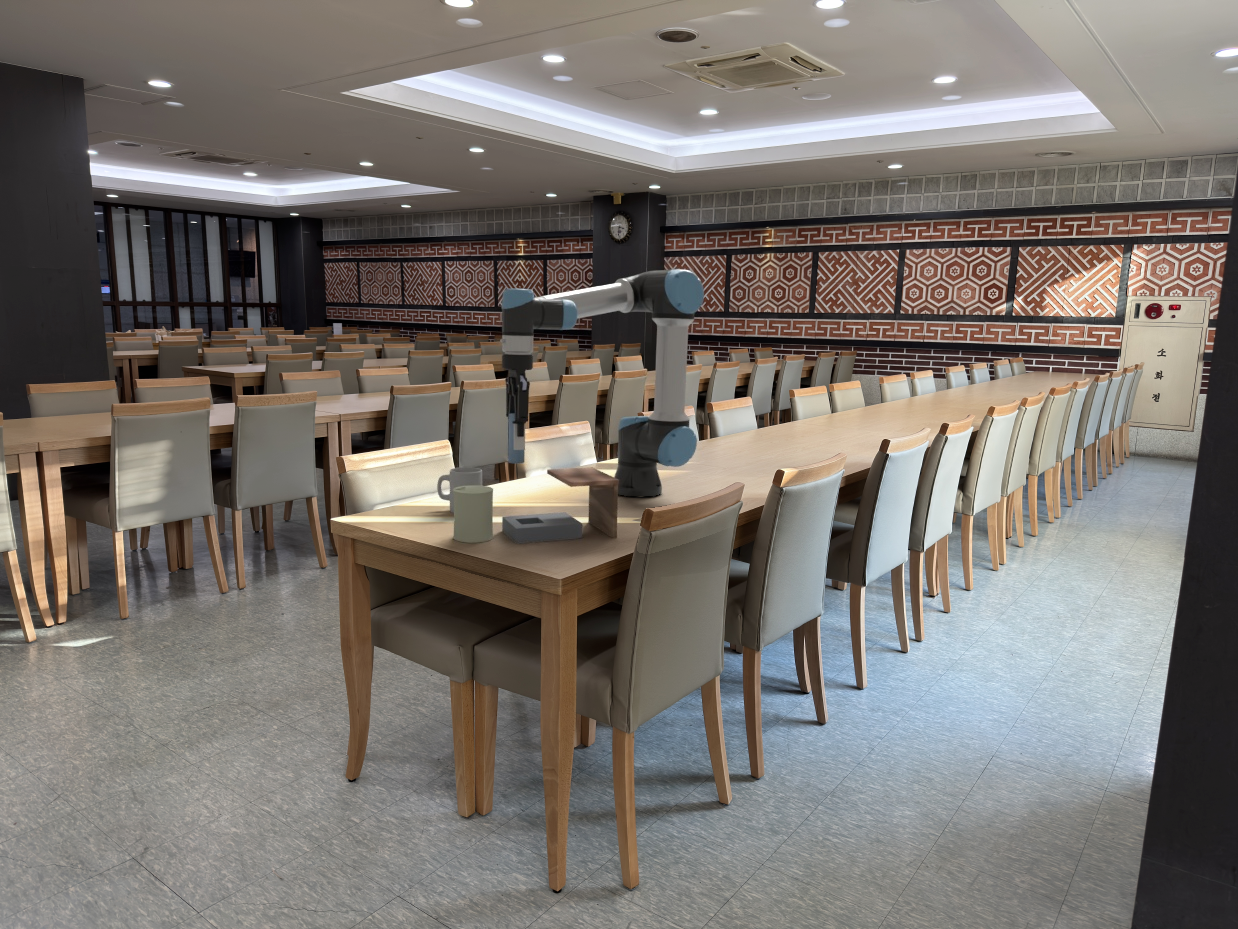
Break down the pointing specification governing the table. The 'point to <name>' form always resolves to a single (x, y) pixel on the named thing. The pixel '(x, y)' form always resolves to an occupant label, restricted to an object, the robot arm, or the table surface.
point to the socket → (541, 527)
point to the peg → (513, 455)
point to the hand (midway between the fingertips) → (516, 447)
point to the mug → (459, 481)
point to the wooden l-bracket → (595, 495)
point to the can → (473, 513)
